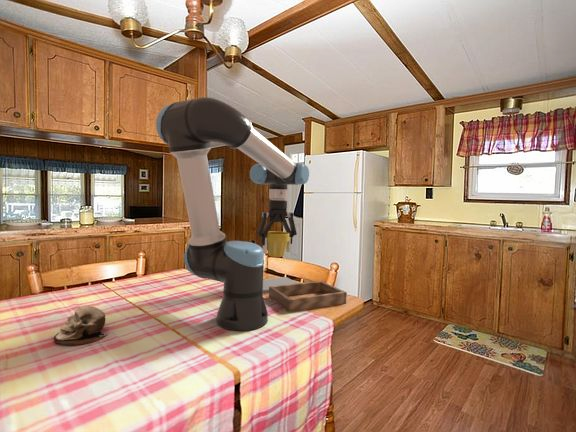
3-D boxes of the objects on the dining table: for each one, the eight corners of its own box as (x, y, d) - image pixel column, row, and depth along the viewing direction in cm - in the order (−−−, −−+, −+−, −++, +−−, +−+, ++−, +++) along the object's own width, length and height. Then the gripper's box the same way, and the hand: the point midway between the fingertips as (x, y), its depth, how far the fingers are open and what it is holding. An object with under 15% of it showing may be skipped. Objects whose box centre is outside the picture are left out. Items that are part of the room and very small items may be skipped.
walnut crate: (289, 312, 102) (289, 300, 102) (268, 297, 116) (269, 286, 116) (346, 303, 113) (346, 292, 112) (321, 290, 127) (321, 280, 127)
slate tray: (262, 293, 121) (262, 290, 121) (249, 283, 134) (249, 280, 134) (302, 288, 129) (302, 285, 129) (286, 279, 142) (286, 276, 142)
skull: (56, 349, 71) (52, 308, 76) (54, 364, 77) (50, 325, 82) (114, 334, 79) (107, 297, 83) (109, 348, 85) (103, 314, 90)
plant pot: (289, 254, 136) (290, 231, 135) (287, 258, 125) (288, 234, 125) (266, 252, 137) (267, 230, 136) (262, 257, 126) (262, 233, 126)
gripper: (256, 199, 121) (254, 255, 122) (306, 200, 132) (304, 252, 133) (249, 198, 128) (247, 252, 129) (297, 200, 138) (295, 249, 140)
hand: (276, 252), depth 131 cm, fingers closed on plant pot, 10 cm apart
